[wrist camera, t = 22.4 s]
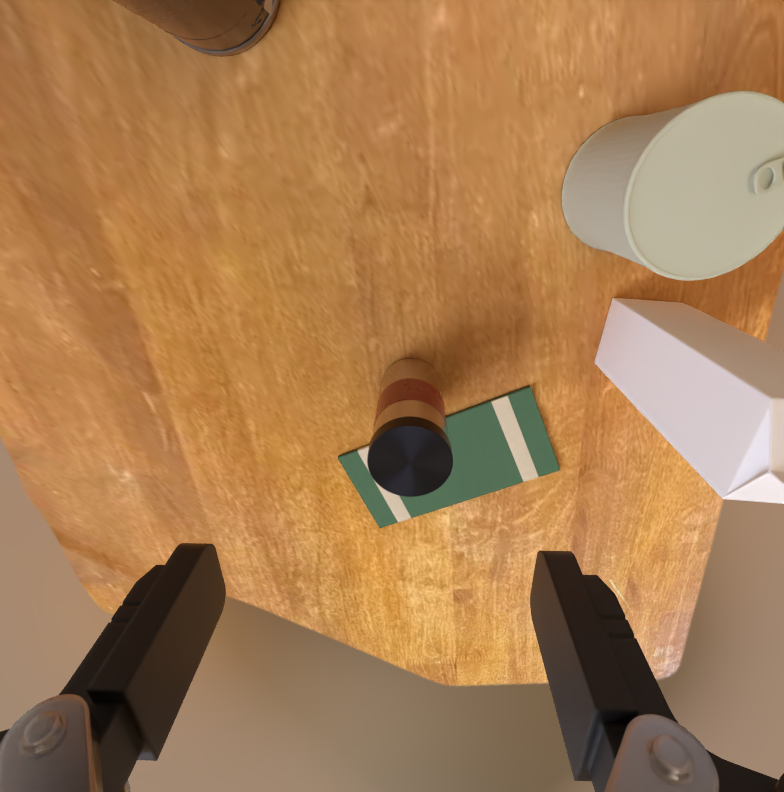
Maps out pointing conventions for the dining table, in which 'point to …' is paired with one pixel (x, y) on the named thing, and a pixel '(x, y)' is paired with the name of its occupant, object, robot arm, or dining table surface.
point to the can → (683, 185)
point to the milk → (702, 392)
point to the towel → (469, 458)
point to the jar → (410, 431)
